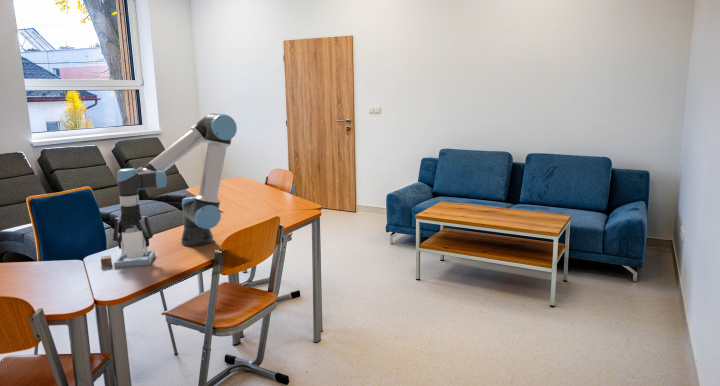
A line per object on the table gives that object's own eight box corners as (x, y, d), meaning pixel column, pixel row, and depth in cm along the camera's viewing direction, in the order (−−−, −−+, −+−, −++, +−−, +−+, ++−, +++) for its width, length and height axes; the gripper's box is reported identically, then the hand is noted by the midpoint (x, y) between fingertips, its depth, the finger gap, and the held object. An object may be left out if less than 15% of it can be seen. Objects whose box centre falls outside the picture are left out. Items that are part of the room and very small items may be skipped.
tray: (155, 255, 229) (154, 250, 228) (149, 265, 215) (148, 260, 215) (122, 257, 226) (121, 252, 225) (114, 268, 212) (113, 262, 212)
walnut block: (111, 264, 218) (110, 255, 217) (112, 266, 214) (111, 257, 214) (101, 265, 216) (100, 256, 215) (101, 268, 213) (100, 259, 212)
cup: (132, 252, 225) (130, 227, 223) (150, 253, 223) (148, 228, 221) (119, 259, 217) (116, 232, 214) (137, 260, 215) (135, 233, 212)
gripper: (157, 201, 221) (161, 250, 226) (105, 204, 217) (111, 253, 221) (154, 204, 214) (159, 255, 218) (100, 207, 210) (106, 259, 214)
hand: (135, 254), depth 220 cm, fingers closed on cup, 8 cm apart
